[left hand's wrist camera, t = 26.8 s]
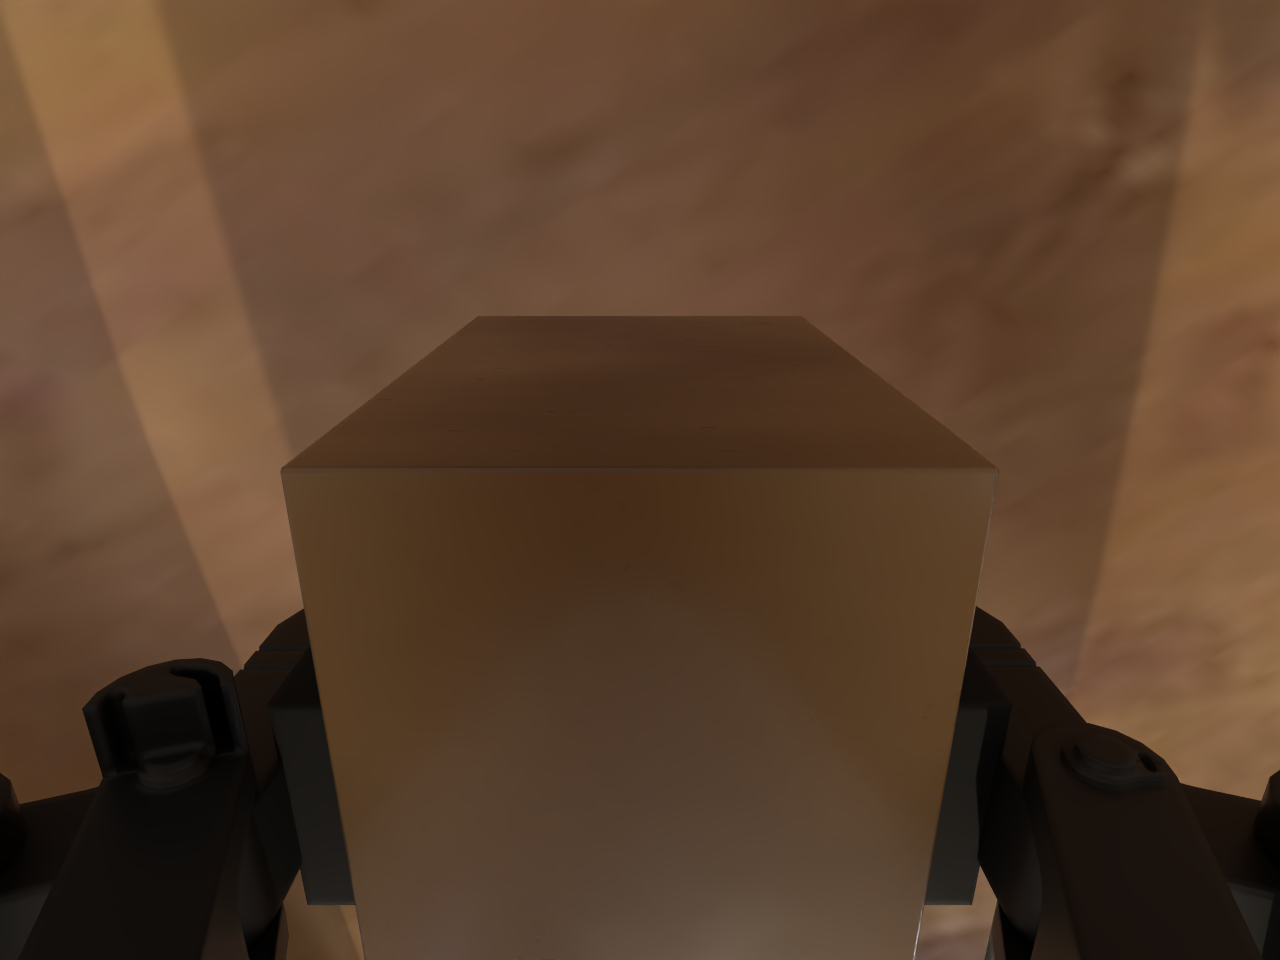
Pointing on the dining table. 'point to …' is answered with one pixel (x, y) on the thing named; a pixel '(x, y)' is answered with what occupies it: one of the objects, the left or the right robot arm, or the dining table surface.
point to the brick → (639, 642)
